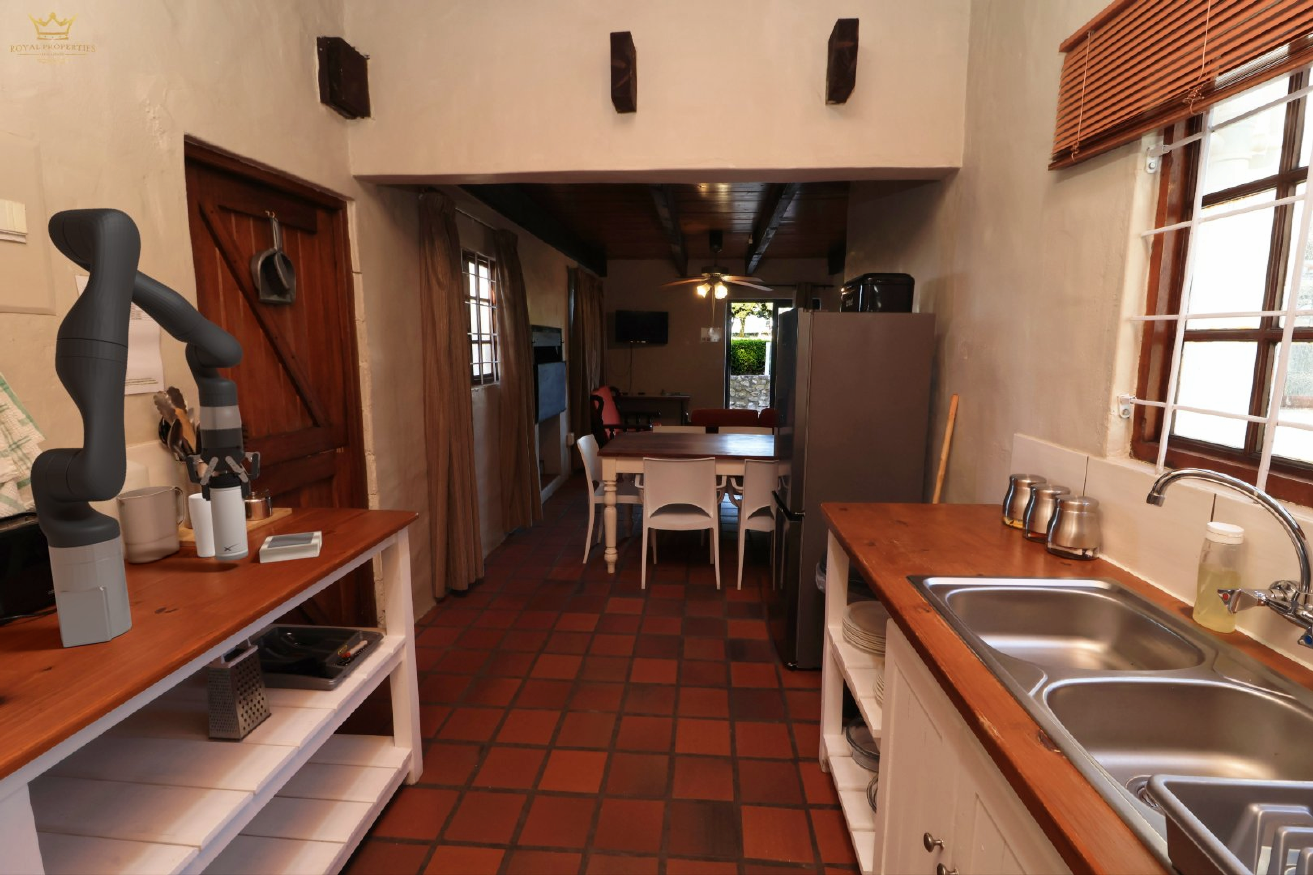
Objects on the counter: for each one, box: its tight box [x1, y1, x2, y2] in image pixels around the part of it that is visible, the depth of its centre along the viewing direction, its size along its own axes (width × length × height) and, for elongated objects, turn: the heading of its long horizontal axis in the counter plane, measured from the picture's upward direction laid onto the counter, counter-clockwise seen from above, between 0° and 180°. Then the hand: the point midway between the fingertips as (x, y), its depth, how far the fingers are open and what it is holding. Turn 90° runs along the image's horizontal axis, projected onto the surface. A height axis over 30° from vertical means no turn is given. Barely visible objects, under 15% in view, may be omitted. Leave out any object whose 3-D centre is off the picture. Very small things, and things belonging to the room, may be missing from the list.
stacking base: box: [258, 530, 323, 564], centre depth 152 cm, size 12×12×3 cm
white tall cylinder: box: [187, 492, 215, 558], centre depth 149 cm, size 7×7×15 cm
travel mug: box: [209, 471, 249, 562], centre depth 140 cm, size 6×7×20 cm
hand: (227, 498), depth 139 cm, fingers closed on travel mug, 6 cm apart
